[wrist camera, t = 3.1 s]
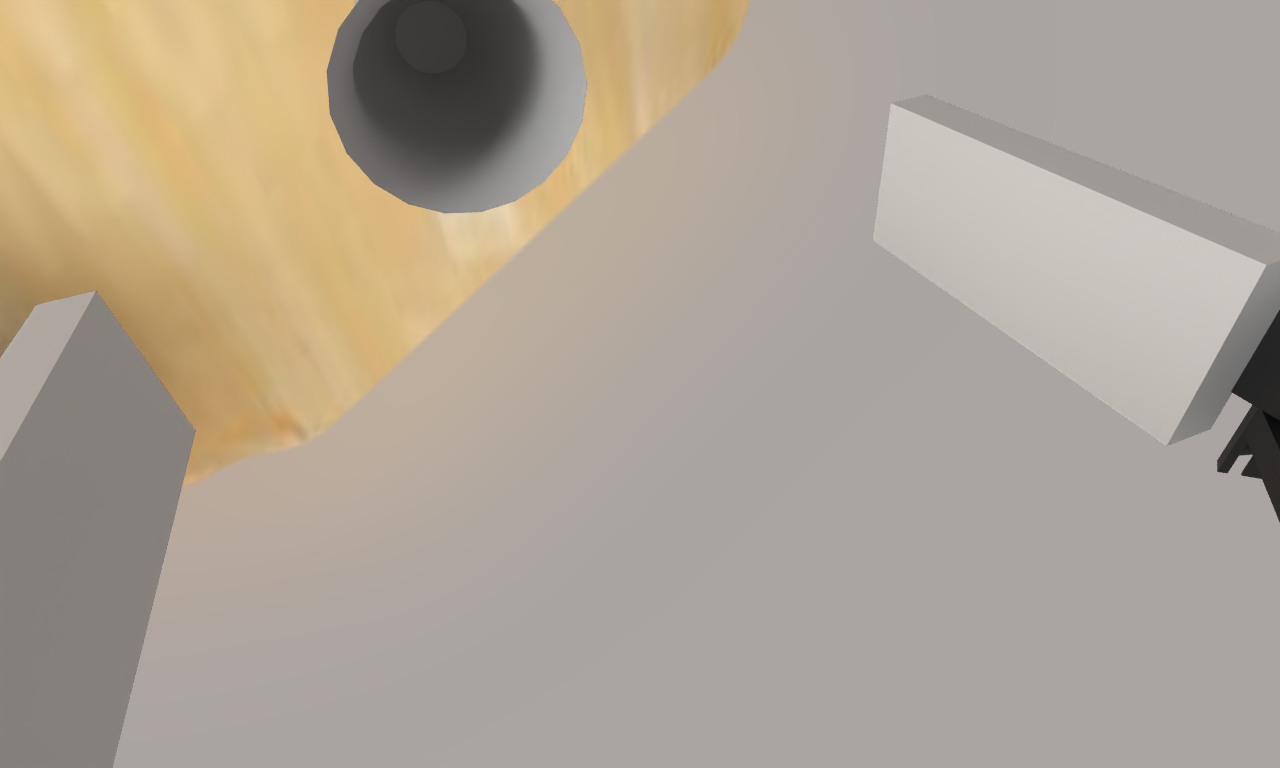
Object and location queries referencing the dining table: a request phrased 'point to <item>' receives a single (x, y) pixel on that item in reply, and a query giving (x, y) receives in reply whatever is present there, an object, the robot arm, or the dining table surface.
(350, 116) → the chalice
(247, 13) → the dining table surface
